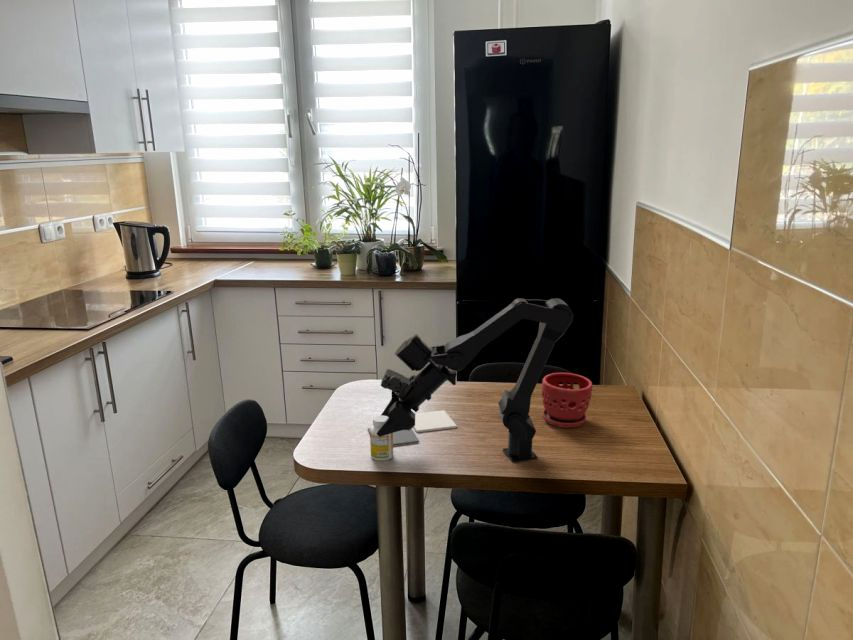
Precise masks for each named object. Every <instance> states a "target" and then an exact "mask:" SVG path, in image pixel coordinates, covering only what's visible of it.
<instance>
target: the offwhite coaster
mask: <svg viewBox="0 0 853 640" xmlns="http://www.w3.org/2000/svg"><path fill="white" fill-rule="evenodd" d="M457 427H458V426H457V424H456V423H455V422H454V421H453V419H452V418H451V417H450V416H449V414H448V413H447V412H446V411H445V410H444V409H443V410H435V411H428V412H419V413H417V412H416V413H415V426H414V427H413V428H412V429H414V432H416V433H426V432H434V431H440V430H449V429H456V428H457Z"/></svg>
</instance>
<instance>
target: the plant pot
mask: <svg viewBox="0 0 853 640" xmlns="http://www.w3.org/2000/svg"><path fill="white" fill-rule="evenodd" d="M560 382H562V384H561V385H560V384H559V383H560ZM568 383H570V384H568ZM574 384H578V387H579V388H578V389H577V388H574ZM592 393H593V382H592V381H591V380H590V379H589V378H587V377H585V376H583V375H580V374H576V373H571V372H553V373H549V374H547V375H545V376H544V377H543V378H542V382H541V400H542V404H543V407H544V408H543V409H544V410H542V418H543V419H544V420H545V422H547V423H548V424H550V425H552V426H554V427H555V426H556V427H559V428H576V427H579V426H582V425H583V424H584V423H585V422H586V420H587V415H586V413H587V411H588V408H589V406H590V402H591V399H592Z"/></svg>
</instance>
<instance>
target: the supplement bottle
mask: <svg viewBox="0 0 853 640" xmlns="http://www.w3.org/2000/svg"><path fill="white" fill-rule="evenodd" d="M387 419H388V416H381V415H376V416H374V417H373V418H372V425H371V427H370V428H371V429H370V434H369V436H370V437H369V438H370V440H369V441H370V443H369V444H370V457H371V458H372V459H373V460H375V461H387V460H388V461H389V460H390V459H392V457H393V456H394V446H393V433H390V434H387V435H384V436H381V437H379V436H378V435H377V432H378V430H379V429H380V428H381V426H382V425H383V424H384V423H385V421H386V420H387Z"/></svg>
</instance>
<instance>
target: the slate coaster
mask: <svg viewBox="0 0 853 640" xmlns="http://www.w3.org/2000/svg"><path fill="white" fill-rule="evenodd" d="M370 429H371V427H368V428H367V432H368V434H369V435H370ZM411 443H412V445H413V444H419V443H420V440H419V438H418V437H417V435H416V434H415V431H414V430H413V428H412V429H411V430H402V431H397V432H394V433H393V447H397V446H403V445H404V444H405V445H411Z"/></svg>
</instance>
